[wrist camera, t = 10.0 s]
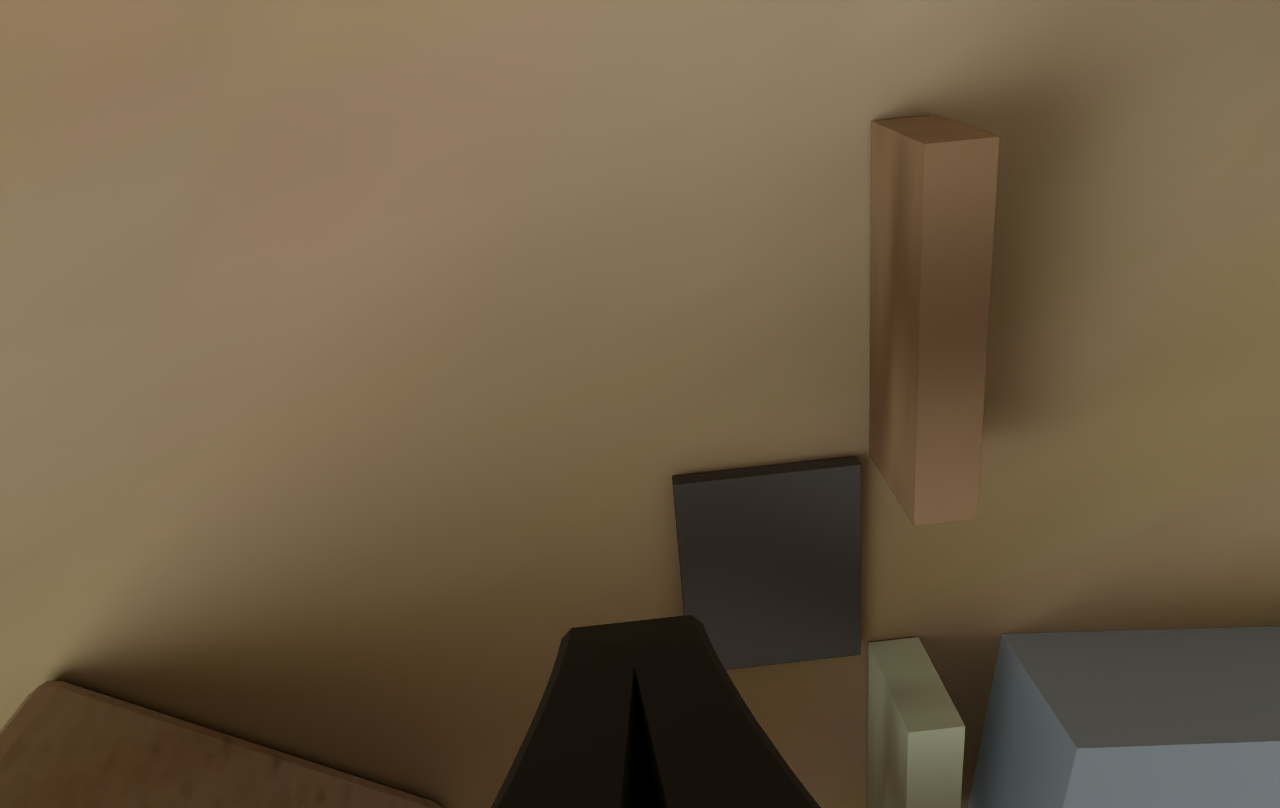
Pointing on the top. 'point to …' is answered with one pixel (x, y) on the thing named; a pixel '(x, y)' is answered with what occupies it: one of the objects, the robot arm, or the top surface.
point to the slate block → (1133, 720)
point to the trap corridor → (899, 446)
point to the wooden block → (158, 762)
